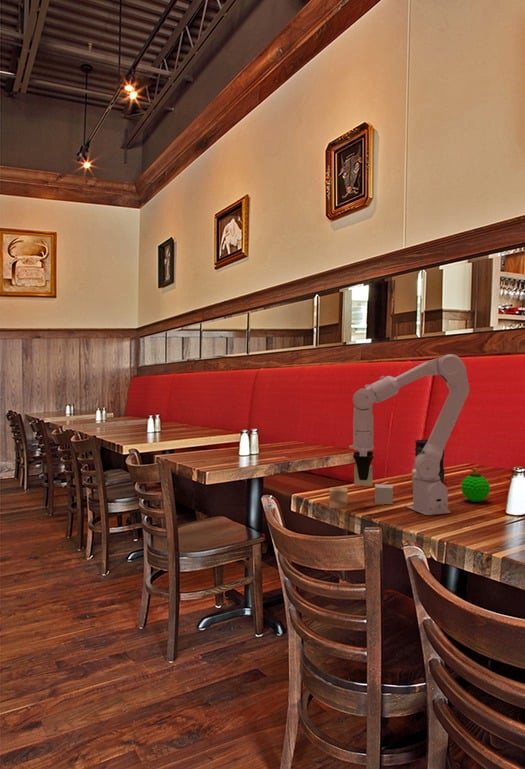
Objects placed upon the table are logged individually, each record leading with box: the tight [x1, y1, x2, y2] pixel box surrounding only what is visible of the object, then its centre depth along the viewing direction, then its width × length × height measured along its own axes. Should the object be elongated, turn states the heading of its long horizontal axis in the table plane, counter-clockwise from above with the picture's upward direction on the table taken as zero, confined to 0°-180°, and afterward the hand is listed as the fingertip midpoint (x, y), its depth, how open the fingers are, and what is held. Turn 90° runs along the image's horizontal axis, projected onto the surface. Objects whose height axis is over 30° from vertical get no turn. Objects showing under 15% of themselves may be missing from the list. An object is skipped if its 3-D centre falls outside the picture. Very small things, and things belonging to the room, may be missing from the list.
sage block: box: [353, 464, 373, 487], centre depth 156 cm, size 5×5×5 cm
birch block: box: [328, 487, 349, 510], centre depth 157 cm, size 5×5×5 cm
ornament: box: [460, 467, 491, 503], centre depth 162 cm, size 8×8×10 cm
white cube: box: [374, 483, 394, 505], centre depth 162 cm, size 5×5×5 cm
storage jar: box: [414, 439, 445, 485], centre depth 190 cm, size 10×10×15 cm
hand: (363, 478), depth 156 cm, fingers closed on sage block, 5 cm apart
